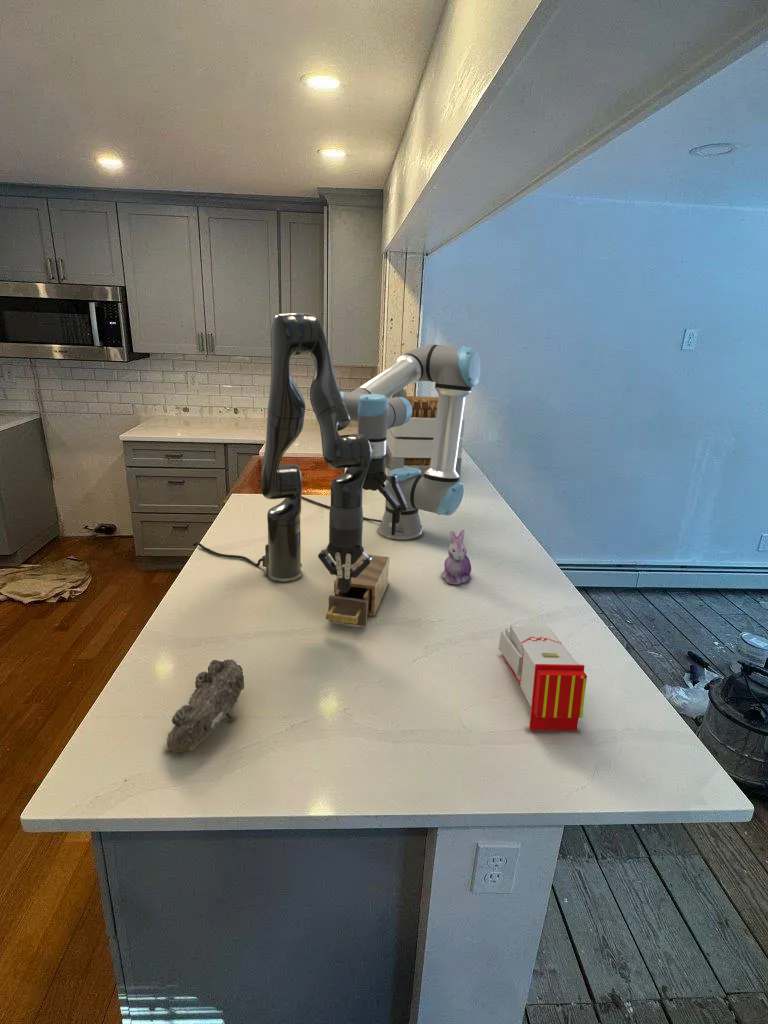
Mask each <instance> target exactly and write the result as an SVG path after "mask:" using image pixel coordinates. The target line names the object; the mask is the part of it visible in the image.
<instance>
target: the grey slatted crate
mask: <svg viewBox="0 0 768 1024" xmlns="http://www.w3.org/2000/svg"><path fill="white" fill-rule="evenodd" d="M407 394H408V393H407V390H406V389H404V388H402V389H401V390H400V391H398V392H397V393H395V394H394V395H393V396H391V398H393V397H403V398H406V399H407V400H408V401H409V402H410V404H411V406H412V416H411V418H410V420H409V421H408V422H406V423H404V424H403V425H401V426H396V427H392V428H389V429H387V439H386V440H387V442H386V454H385V455H384V456H385V457H386V467H388V468H389V472H390V471H391V470H393V469H397V468H405V466H406V467H409V466H411V467H415V466H416V467H417V466H418V467H430V460H431V452H432V444H433V436H434V428H435V420H436V412H437V405H438V397H439V396H415V395H414V396H413V395H412V396H411V395H407ZM464 429H465V419H464V418H463V419H462V426H461V433H460V441H459V448H458V455H457V462H456V472H457V473H458V475H459V482H461V472H462V461H463V460H462V453H463V442H464V441H463V440H462V439H463V438H464V431H465V430H464Z"/></svg>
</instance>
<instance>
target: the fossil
mask: <svg viewBox="0 0 768 1024" xmlns="http://www.w3.org/2000/svg"><path fill="white" fill-rule="evenodd" d="M243 670H244V669H243V667H242V665H240V664H237V662H236V661H235V660H234V659H232V658H231V659H227V658H226V659H224V660H223V661H222V660H217V659H212V660H211V661H210V663H209V665H208V666H207V671H201V672H199V673H198V674H197V675H196V676H195V680H194V684H195V685H194V687H195V689H194V690H193V693H192V694H191V697H190V698H189V700H188V704H184V705H182V706H181V707H180V709H177V710H176V711H175V713H174V715H173V716H172V718H171V723H172V724H173V727H172V730H171V731H170V732H168V734H167V738H166V741H167V742H166V745H167V749H168V750H169V751H173V752H174V753H176V754H178V753H182V752H188V751H189V752H192V751H193V750H195V748H196V747H197V746H199V744H200V743H201V742H203V741H204V740H205V739H206V738H207V737H208V736H209V735H210V734H211V733H212V732H214V730H215V729H217V727H218V726H219V724H220V722H221V721H222V720H223V719H224V718H225V716H226V717H227V719H229V720H233V717H232V715H230V714H229V710H230V709H231V708H234V706H235V704H236V703H237V702H238V699H239V697H240V695H241V693H242V691H243V690H245V689H244V688H245V675H244V671H243Z"/></svg>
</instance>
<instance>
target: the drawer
mask: <svg viewBox="0 0 768 1024" xmlns="http://www.w3.org/2000/svg"><path fill="white" fill-rule="evenodd" d="M371 600H372V589H367V588H360V587H353V586H351V587H350V589H349V591H347V593H344V592H340V590H339V589H337V591H336V593H335V596H334V594H332V595H331V594H330V595H329V596H328V611H326V613H325V620H326V621H328V622H334V623H338V624H339V623H340V624H345V625H353V626H359V627H360V626H361V627H367V625H368V615H367V614H368V612H369V610H370V608H371Z"/></svg>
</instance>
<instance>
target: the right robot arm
mask: <svg viewBox="0 0 768 1024" xmlns="http://www.w3.org/2000/svg"><path fill="white" fill-rule="evenodd" d="M481 370H482V365H481V359H480V356H479V353H478V352H477V351H476V349H474V348H472V347H468V346H463V345H460V346H459V345H457V346H456V345H444V344H443V345H442V344H432V343H431V344H425V345H421V346H418V347H416V348H412V349H411V350H409V351H407V352H405V353H403V354H401V355H400V356H399V357H398V358H396V359H395V363H394V364H392V365H391V366H389V367H388V368H386V369H385V370H383V371H382V372H380V373H378V374H376V375H375V376H374V377H372V378H371V379H369V380H368V381H366V382H364V383H363V384H362V385H360V386H359V387H357V388H355V389H353V390H352V391H351V392H348V391H340V393H341V395H342V398H343V400H344V402H345V405H346V407H347V410H348V412H349V415H350V422H357V434H363V435H365V436H366V437H367V438H368V440H369V441H370V444H371V448H372V456H371V461H370V465H369V468H368V471H367V474H366V478H365V481H364V484H363V490H364V491H373V492H375V491H378V492H379V493H380V494H381V495H382V496H383V497H384V498H385V504H384V505H385V507H384V508H385V509H384V513H383V515H382V519H376V518H368V517H365V516H363V521H364V520H365V521H370V522H375V523H379V527H378V533H379V534H380V535H381V536H382V537H385V538H387V539H389V540H395V541H410V540H415V539H418V538H420V537H421V536H422V535H423V525H422V524H421V518H420V515H419V510H420V511H425V512H429V513H433V514H436V515H438V516H439V515H442V516H447V517H448V516H452V515H453V514H454V513H456V511H457V510H458V509H459V507H460V505H461V503H462V500H463V497H464V493H465V488H464V484H463V483H462V482H461V481H460V482H459V475H458V473H457V472H456V462H457V455H458V448H459V441H460V439H461V438H460V433H461V426H462V419H464V412H465V411H464V410H465V403H466V398H467V396H468V395H469V394H471V393H472V388H473V387H477V385H478V384H479V382H480V380H481V373H482V372H481ZM418 382H431V383H434V389H435V391H436V393H437V394H438V396H437V397H438V405H437V412H436V420H435V428H434V436H433V444H432V452H431V460H430V466H428V468H427V469H426V470H424V472H423V474H422V470H421V468H419V467H413V466H411V467H409V466H406V467H404V468H397V469H393V470H391V471H390V470H389V471H388V472H387V473H386V467H387V466H386V457H385V456H384V455H385V454H386V442H387V440H386V439H387V429H389V428H392V427H396V426H401V425H403V424H404V423H406V422H408V421H409V420H410V418H411V416H412V406H411V404H410V402H409V401H408V400H407V399H406V398H403V397H393V398H392V396H393V395H394V394H395V393H397V392H398V391H400V390H401V389H402V388H403V389H404V388H405V387H406V386H408V385H414V384H416V383H418ZM257 482H259V483H260V479H258V480H257ZM302 499H303V500H305V501H307V502H310V503H313V504H315V505H319V506H321V507H323V508H327V509H330V505H327V504H323V503H321V502H318V501H315V500H312V499H310V498H307V497H305V496H302ZM302 499H301V500H302Z"/></svg>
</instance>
